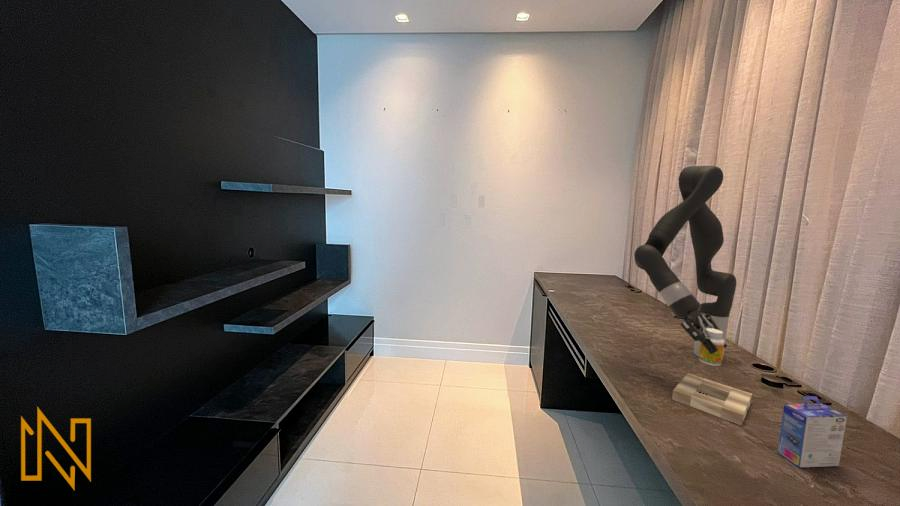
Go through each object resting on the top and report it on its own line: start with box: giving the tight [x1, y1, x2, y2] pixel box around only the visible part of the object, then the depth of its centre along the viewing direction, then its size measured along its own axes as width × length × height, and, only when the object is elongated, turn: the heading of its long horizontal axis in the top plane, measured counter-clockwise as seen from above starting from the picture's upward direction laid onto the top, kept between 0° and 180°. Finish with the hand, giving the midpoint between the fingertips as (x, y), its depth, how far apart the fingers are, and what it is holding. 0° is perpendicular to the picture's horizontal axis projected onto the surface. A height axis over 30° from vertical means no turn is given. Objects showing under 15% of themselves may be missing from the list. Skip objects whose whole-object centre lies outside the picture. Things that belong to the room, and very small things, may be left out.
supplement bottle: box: [698, 328, 726, 367], centre depth 101 cm, size 5×5×10 cm
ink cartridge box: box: [777, 395, 848, 468], centre depth 78 cm, size 10×6×14 cm, turn 95°
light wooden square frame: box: [671, 372, 753, 426], centre depth 101 cm, size 16×16×3 cm
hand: (719, 350), depth 99 cm, fingers closed on supplement bottle, 5 cm apart
